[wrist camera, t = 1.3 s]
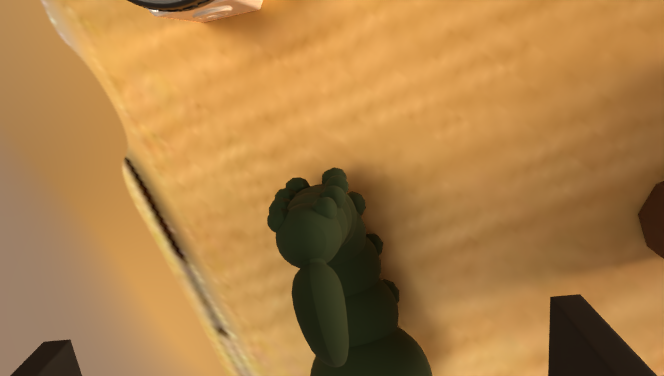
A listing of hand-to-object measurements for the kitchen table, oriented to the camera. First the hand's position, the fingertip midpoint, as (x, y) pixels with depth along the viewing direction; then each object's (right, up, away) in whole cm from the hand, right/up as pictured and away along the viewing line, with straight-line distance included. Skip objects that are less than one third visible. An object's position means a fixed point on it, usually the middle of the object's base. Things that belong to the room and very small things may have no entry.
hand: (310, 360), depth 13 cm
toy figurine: (+2, -4, +28) cm, 29 cm away
